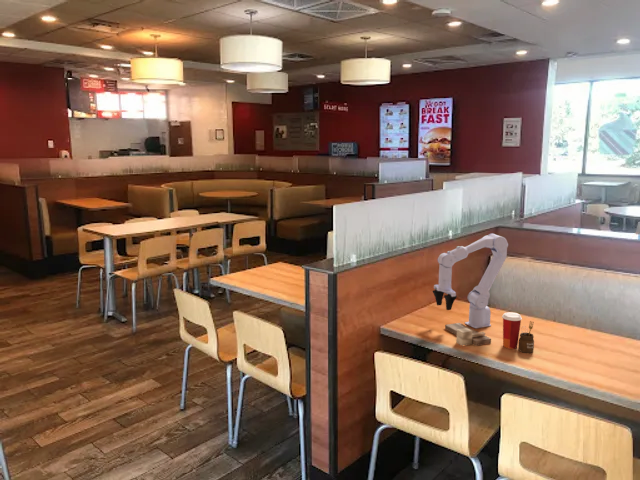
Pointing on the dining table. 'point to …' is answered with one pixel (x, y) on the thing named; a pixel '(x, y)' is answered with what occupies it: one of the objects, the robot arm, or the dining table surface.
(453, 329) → the plank
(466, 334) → the wooden mallet
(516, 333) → the paper cup
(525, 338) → the utensil holder
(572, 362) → the dining table surface
